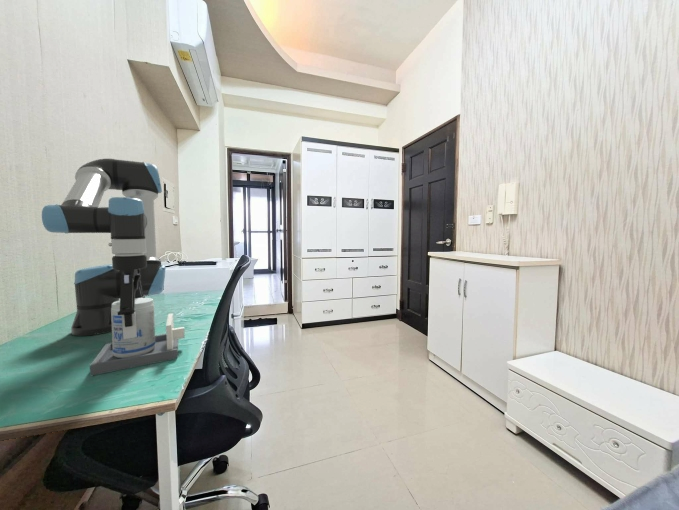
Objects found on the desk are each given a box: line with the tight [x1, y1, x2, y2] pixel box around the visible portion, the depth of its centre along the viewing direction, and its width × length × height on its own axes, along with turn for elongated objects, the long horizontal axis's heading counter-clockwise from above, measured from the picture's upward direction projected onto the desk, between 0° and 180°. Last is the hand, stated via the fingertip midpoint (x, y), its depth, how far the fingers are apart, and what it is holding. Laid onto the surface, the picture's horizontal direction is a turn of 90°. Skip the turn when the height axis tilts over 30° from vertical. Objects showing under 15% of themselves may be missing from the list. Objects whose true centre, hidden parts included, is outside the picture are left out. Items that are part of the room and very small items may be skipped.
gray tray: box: [89, 333, 179, 377], centre depth 76 cm, size 16×18×2 cm
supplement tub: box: [111, 297, 156, 358], centre depth 75 cm, size 10×10×15 cm
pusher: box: [165, 313, 186, 350], centre depth 80 cm, size 13×4×8 cm, turn 30°
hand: (134, 329), depth 75 cm, fingers open, 13 cm apart
